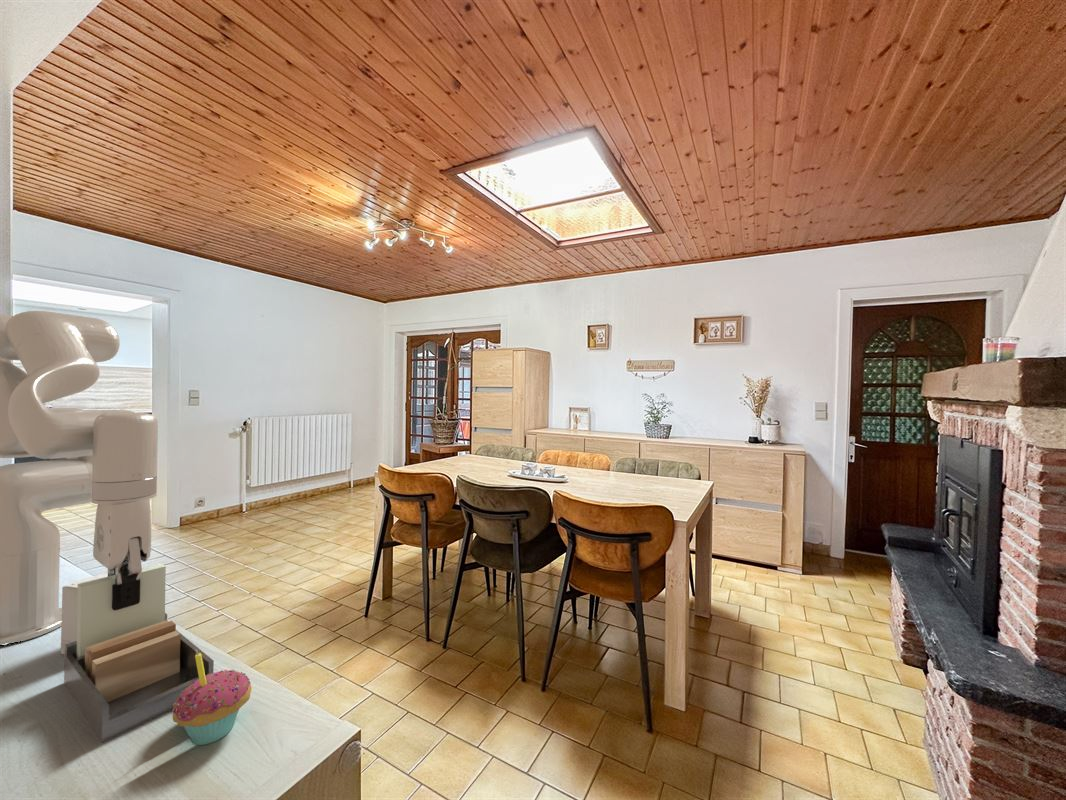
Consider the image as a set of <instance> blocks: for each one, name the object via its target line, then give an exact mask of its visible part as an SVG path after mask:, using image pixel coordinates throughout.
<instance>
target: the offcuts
mask: <svg viewBox="0 0 1066 800" xmlns="http://www.w3.org/2000/svg"><path fill="white" fill-rule="evenodd" d="M176 626H177V624H176V623H175V622H174V621H172V620H168V619H167V620H166V621H163V622H160V623H157V624H154V625H151V626H148V627H145V628H142V629H139V630H136V631H133V632H130V633H127V634H124V635H121V636H118V637H115V638H112V639H109V640H106V641H103V642H100V643H97V644H94V645H91V646H88V647H85V673H86V674H87V676H88V677H89V678H90V680H91V681H92V682H93V684H94V685H95V687H96V688H97V689H98V691H99V692H100V693H101V695H102V696H103V698H104V699H105V700H106V702H109V701H112V700H114V699H116V698H119V697H121V696H124V695H126V694H128V693H131V692H133V691H135V690H138V689H140V688H143V687H145V686H147V685H150V684H152V683H154V682H157V681H159V680H161V679H164V678H166V677H169V676H171V675H173V674H176V673H178V672H180V632H179V631H178V630H177V628H176ZM176 630H177V631H178V632H179V633H178V632H177V631H176Z"/></svg>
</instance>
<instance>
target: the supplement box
mask: <svg viewBox="0 0 1066 800" xmlns="http://www.w3.org/2000/svg"><path fill="white" fill-rule="evenodd" d="M104 577H108V571H105V572H103V573H100V574H98V575H94V576H91V577H88V578H84V579H82V580H78V581H76V582H73V583H70V584H67V585H64V586H62V589H61V590H62V592H61V594H62V595H61V608H62V623H61V626H60V627H61V628H60V655H61V654H62V655H65V644H68V643H71V642H74V641H77V588H78V584H80V583H84V582H88V581H92V580H96V579H100V578H104Z"/></svg>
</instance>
